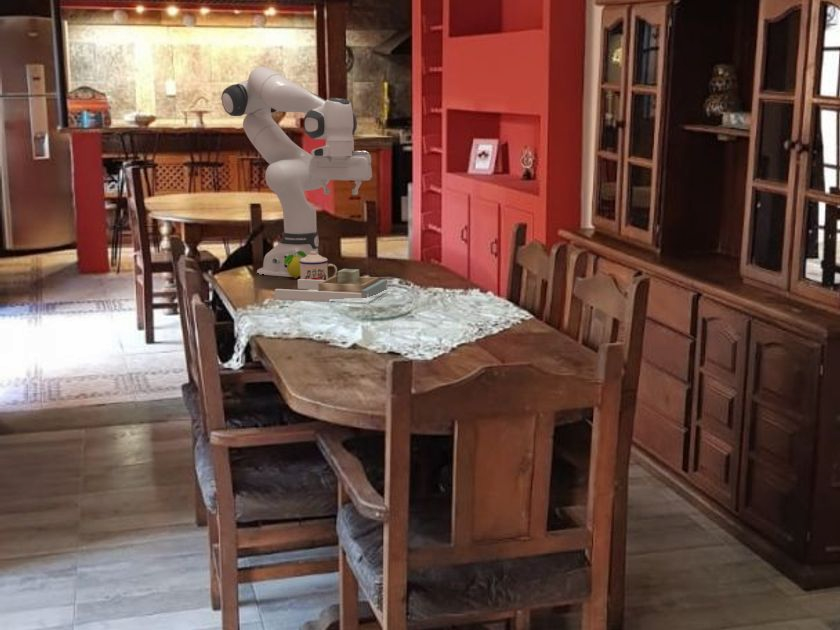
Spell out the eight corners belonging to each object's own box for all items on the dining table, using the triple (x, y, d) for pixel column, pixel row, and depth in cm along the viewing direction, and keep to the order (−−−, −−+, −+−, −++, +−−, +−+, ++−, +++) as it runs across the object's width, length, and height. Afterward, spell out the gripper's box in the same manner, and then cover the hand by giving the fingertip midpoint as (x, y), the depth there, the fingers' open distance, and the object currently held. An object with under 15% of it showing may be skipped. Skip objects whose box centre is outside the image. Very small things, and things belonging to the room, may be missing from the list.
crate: (318, 299, 318) (318, 283, 317) (335, 291, 331) (335, 275, 330) (363, 301, 314) (363, 285, 313) (379, 293, 327) (378, 277, 326)
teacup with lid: (302, 290, 338) (301, 254, 336) (297, 285, 347) (296, 250, 345) (340, 288, 342) (339, 252, 339) (334, 283, 350) (333, 248, 348)
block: (338, 294, 321) (337, 271, 319) (344, 291, 325) (343, 268, 324) (354, 295, 319) (353, 272, 318) (359, 292, 324) (359, 269, 322)
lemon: (308, 277, 363) (307, 247, 361) (303, 280, 357) (302, 250, 355) (288, 277, 364) (287, 247, 361) (284, 280, 358) (283, 250, 356)
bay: (274, 303, 319) (274, 286, 318) (299, 291, 337) (299, 275, 336) (367, 307, 311) (366, 290, 310) (387, 295, 329) (387, 279, 328)
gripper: (374, 150, 339) (375, 194, 342) (314, 149, 345) (315, 193, 348) (367, 151, 333) (368, 196, 336) (306, 150, 339) (307, 194, 342)
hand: (341, 194), depth 342 cm, fingers open, 8 cm apart
